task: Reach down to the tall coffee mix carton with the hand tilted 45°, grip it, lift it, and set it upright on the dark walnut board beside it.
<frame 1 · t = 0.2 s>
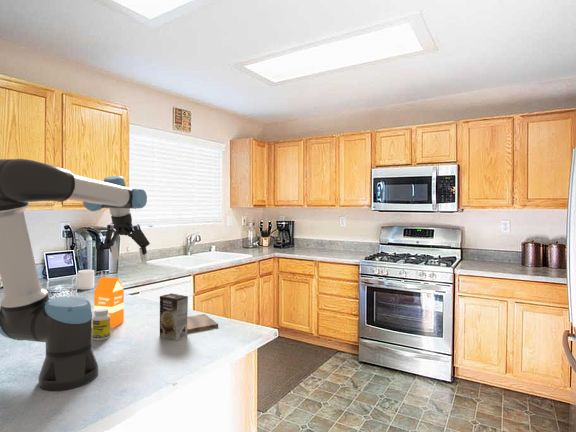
hand: (130, 260, 157), 28 cm above the countertop, tool tilted 20°, fingers open, 13 cm apart
mug: (83, 289, 220), on the countertop
orange juice: (109, 324, 157), on the countertop
pill bottle: (101, 338, 140), on the countertop
walnut board: (193, 325, 156), on the countertop
coffee box: (173, 337, 143), on the countertop
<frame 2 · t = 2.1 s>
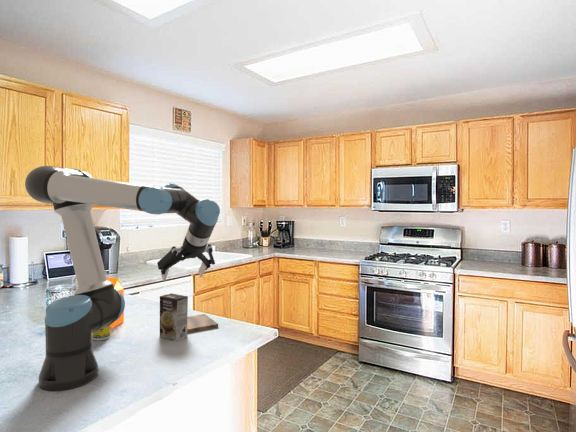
hand: (182, 276, 133), 26 cm above the countertop, tool tilted 45°, fingers open, 13 cm apart
nothing on the countertop moved.
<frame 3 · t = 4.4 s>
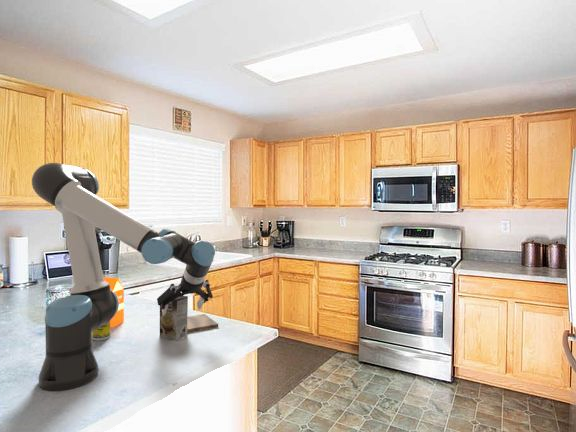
hand: (181, 309, 139), 12 cm above the countertop, tool tilted 45°, fingers open, 13 cm apart
nothing on the countertop moved.
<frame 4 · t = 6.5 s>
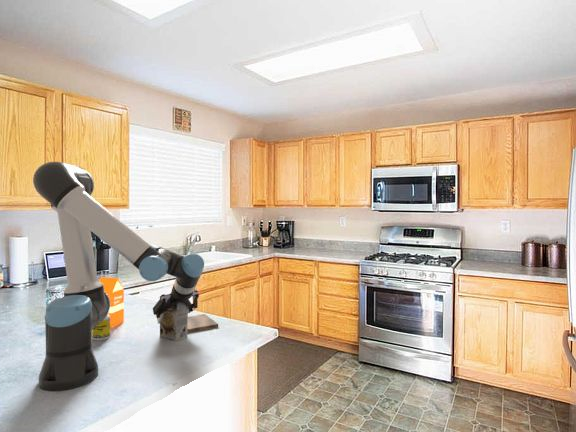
hand: (171, 318, 145), 6 cm above the countertop, tool tilted 45°, fingers closed on coffee box, 9 cm apart
coffee box: (173, 337, 143), on the countertop, touching gripper
everything else where it was.
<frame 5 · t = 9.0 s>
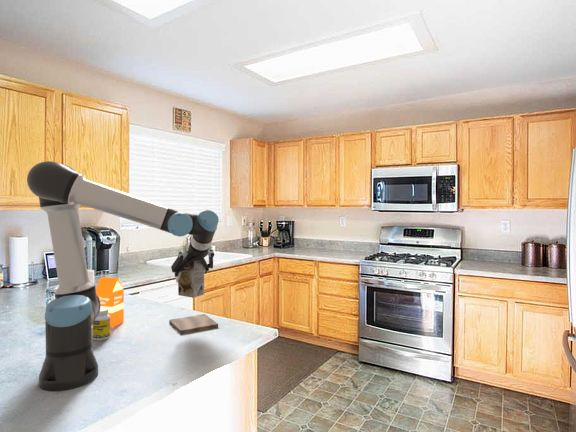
hand: (188, 278, 153), 21 cm above the countertop, tool tilted 45°, fingers closed on coffee box, 9 cm apart
coffee box: (191, 295, 150), point 14 cm above the countertop, touching gripper
everything else where it was.
when the fingers open (9 cm above the countertop, at t = 11.8 s): coffee box drops 1 cm, resting on walnut board.
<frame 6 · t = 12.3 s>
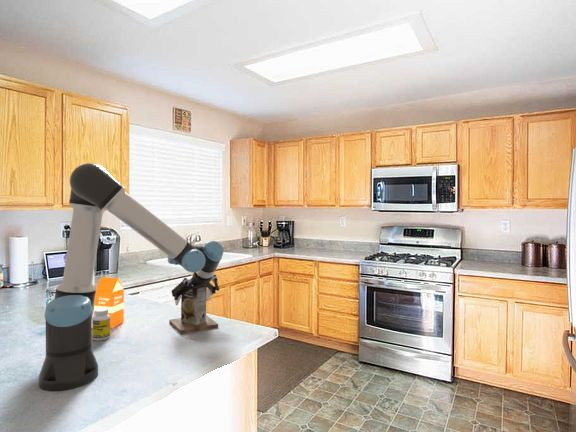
hand: (191, 300, 158), 10 cm above the countertop, tool tilted 45°, fingers open, 13 cm apart
coffee box: (193, 322, 156), point 1 cm above the countertop, touching walnut board
everything else where it was.
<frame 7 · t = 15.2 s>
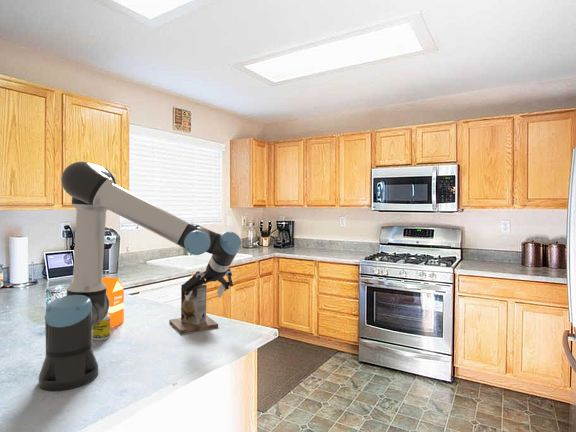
hand: (203, 296, 147), 15 cm above the countertop, tool tilted 45°, fingers open, 13 cm apart
nothing on the countertop moved.
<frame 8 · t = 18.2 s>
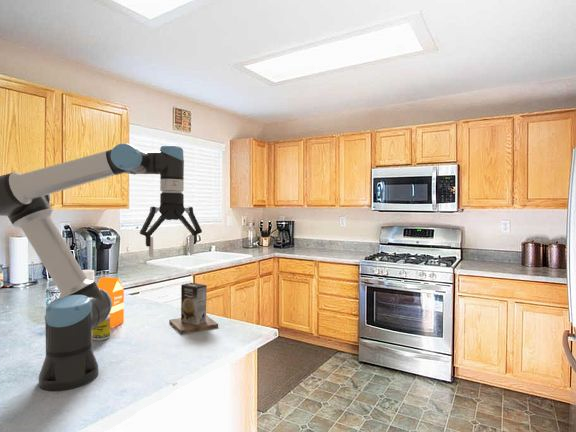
hand: (171, 255, 123), 35 cm above the countertop, tool pointing down, fingers open, 13 cm apart
nothing on the countertop moved.
at the end: coffee box inside the target area on the walnut board (0.3 cm from its centre), point 1.3 cm above the walnut board's base; coffee box tilted 0°; the gripper is holding nothing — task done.
